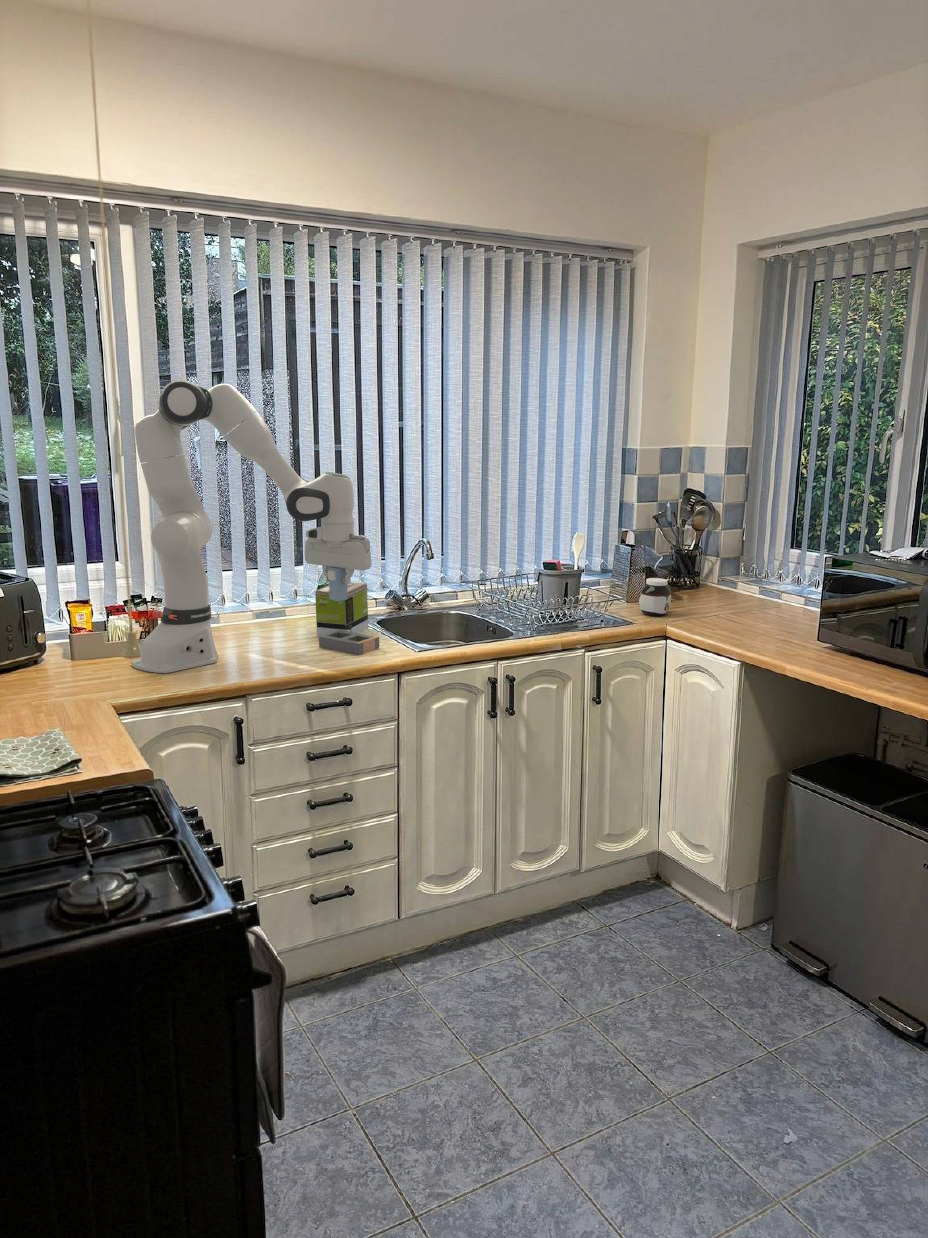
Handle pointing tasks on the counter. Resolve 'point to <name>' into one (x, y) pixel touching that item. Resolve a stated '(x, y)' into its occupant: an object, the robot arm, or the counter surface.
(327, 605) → the tea box
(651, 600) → the spread jar
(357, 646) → the socket block
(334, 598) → the plug peg
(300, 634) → the counter surface
